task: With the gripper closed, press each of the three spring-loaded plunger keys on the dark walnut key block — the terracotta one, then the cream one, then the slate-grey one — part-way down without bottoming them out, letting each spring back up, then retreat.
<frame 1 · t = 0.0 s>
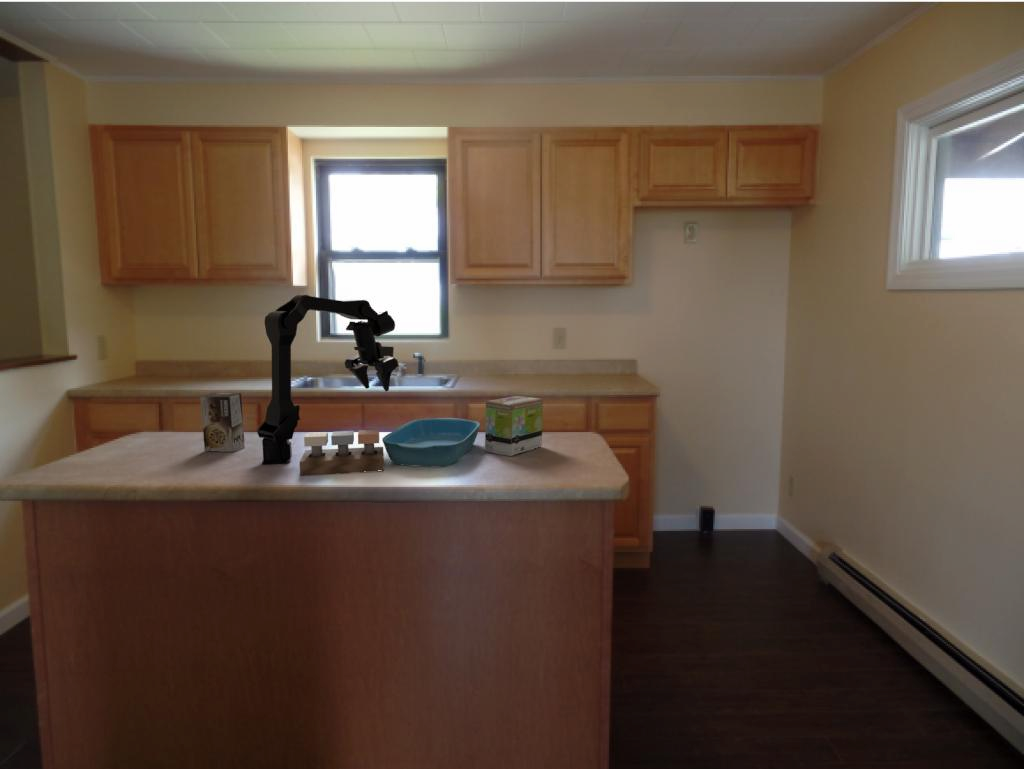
hand: (377, 389, 189), 15 cm above the countertop, tool pointing down, fingers open, 9 cm apart
coffee box: (224, 450, 177), on the countertop
casserole dish: (434, 454, 172), on the countertop
cream key: (316, 445, 156), point 6 cm above the countertop, slide at 0.0 cm
tea box: (514, 450, 177), on the countertop
terracotta key: (369, 443, 158), point 6 cm above the countertop, slide at 0.0 cm
slate key: (343, 444, 157), point 6 cm above the countertop, slide at 0.0 cm
key block: (343, 467, 158), on the countertop
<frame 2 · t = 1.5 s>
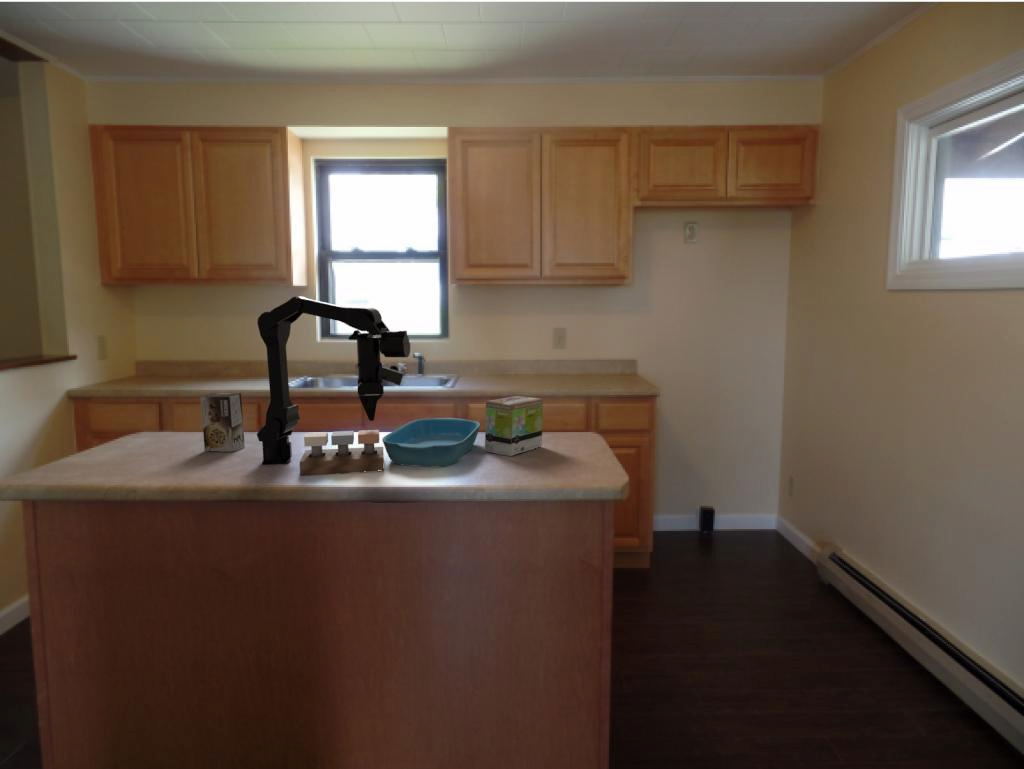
hand: (371, 417, 159), 13 cm above the countertop, tool pointing down, fingers open, 9 cm apart
nothing on the countertop moved.
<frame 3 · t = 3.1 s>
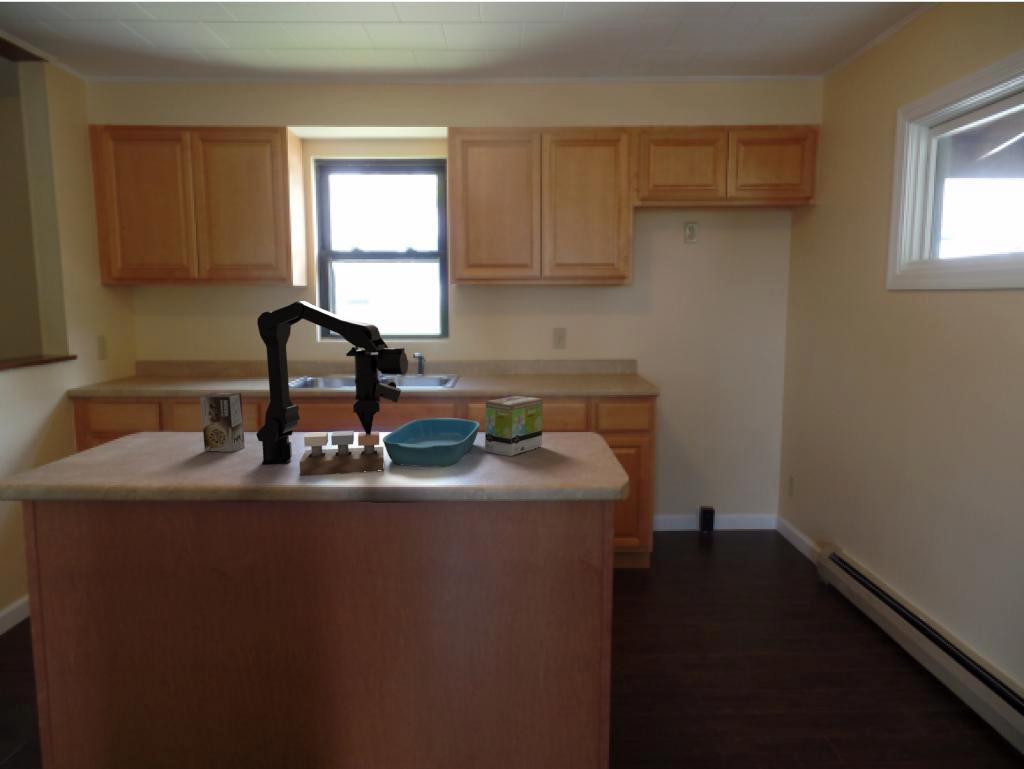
hand: (368, 434, 158), 8 cm above the countertop, tool pointing down, fingers closed, pressing on terracotta key
terracotta key: (369, 445, 158), point 5 cm above the countertop, slide at 0.5 cm, touching gripper
everything else where it was.
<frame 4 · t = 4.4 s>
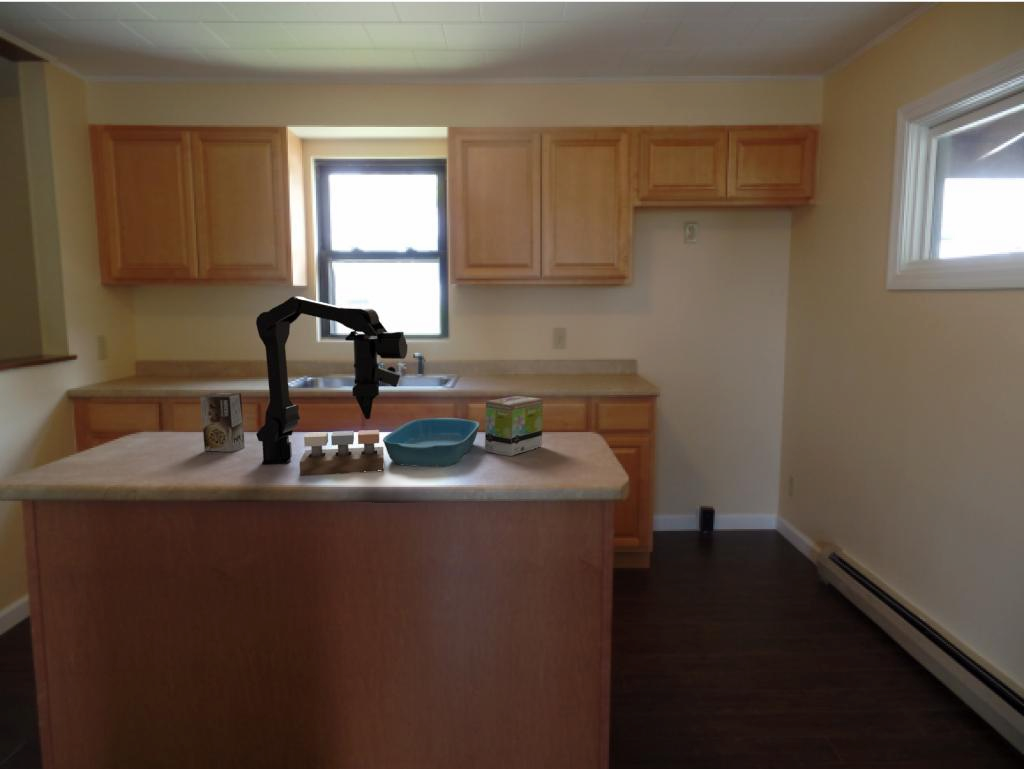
hand: (367, 418, 158), 12 cm above the countertop, tool pointing down, fingers closed
terracotta key: (369, 443, 158), point 6 cm above the countertop, slide at 0.0 cm
everything else where it was.
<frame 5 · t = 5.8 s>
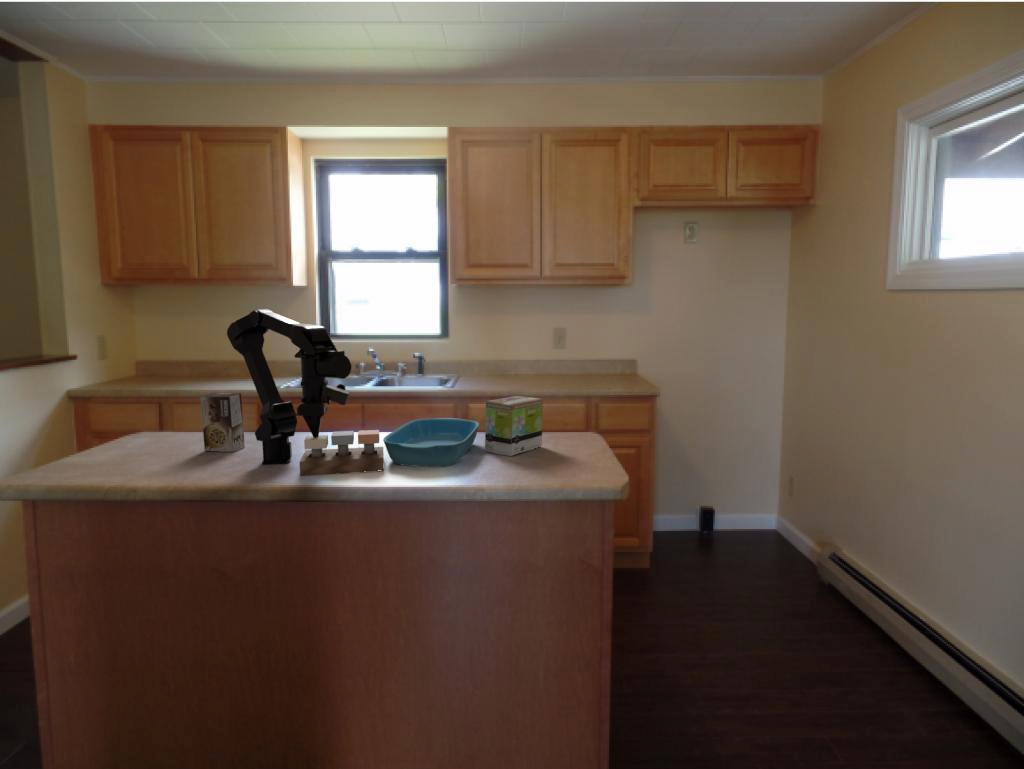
hand: (316, 437, 156), 8 cm above the countertop, tool pointing down, fingers closed, pressing on cream key
cream key: (316, 448, 156), point 5 cm above the countertop, slide at 0.8 cm, touching gripper
everything else where it was.
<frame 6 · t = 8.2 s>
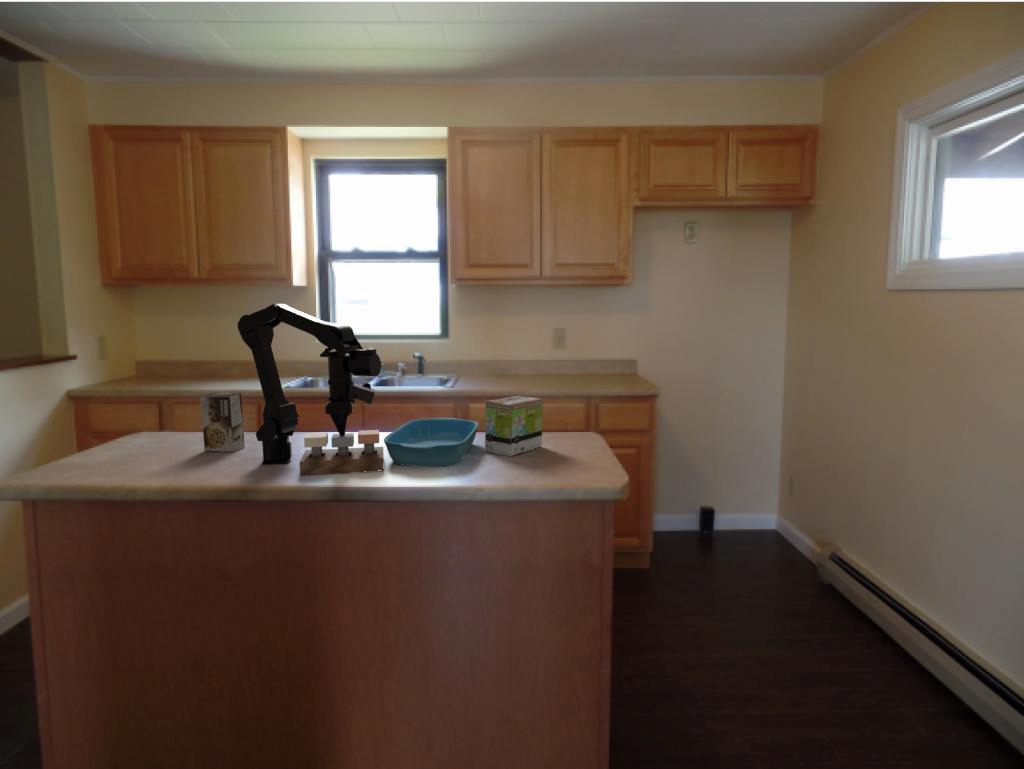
hand: (342, 435, 157), 8 cm above the countertop, tool pointing down, fingers closed, pressing on slate key
cream key: (316, 446, 156), point 6 cm above the countertop, slide at 0.3 cm
slate key: (343, 446, 157), point 5 cm above the countertop, slide at 0.6 cm, touching gripper
everything else where it was.
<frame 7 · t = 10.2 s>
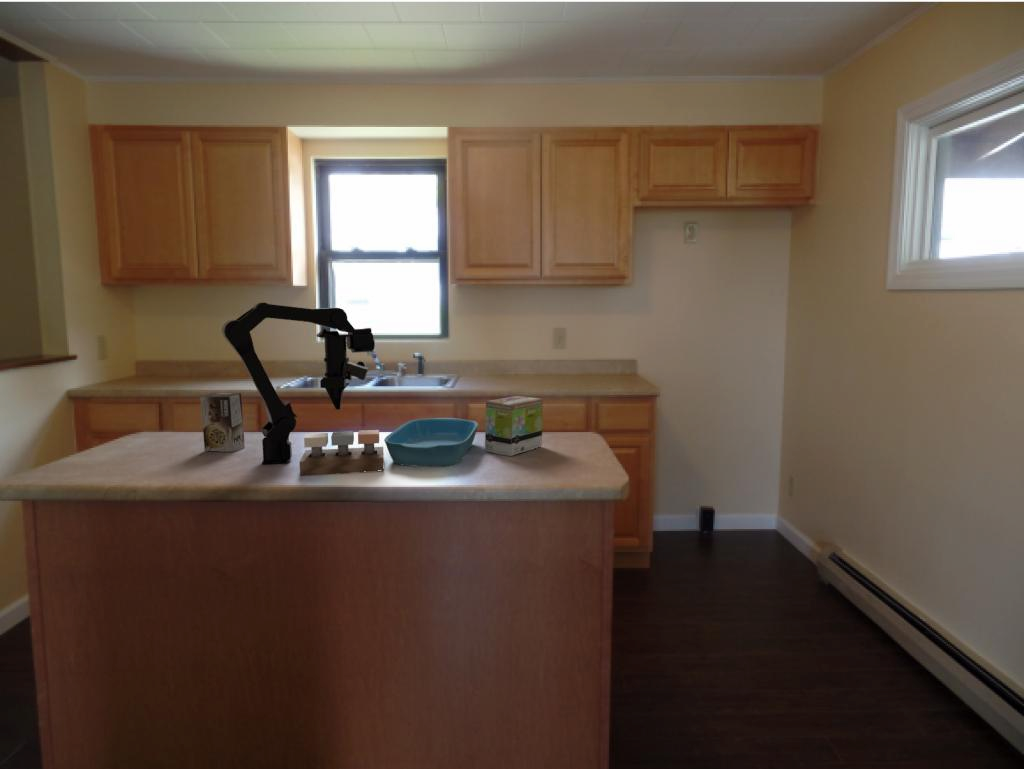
hand: (338, 409, 171), 13 cm above the countertop, tool pointing down, fingers closed
slate key: (343, 444, 157), point 6 cm above the countertop, slide at 0.1 cm
everything else where it was.
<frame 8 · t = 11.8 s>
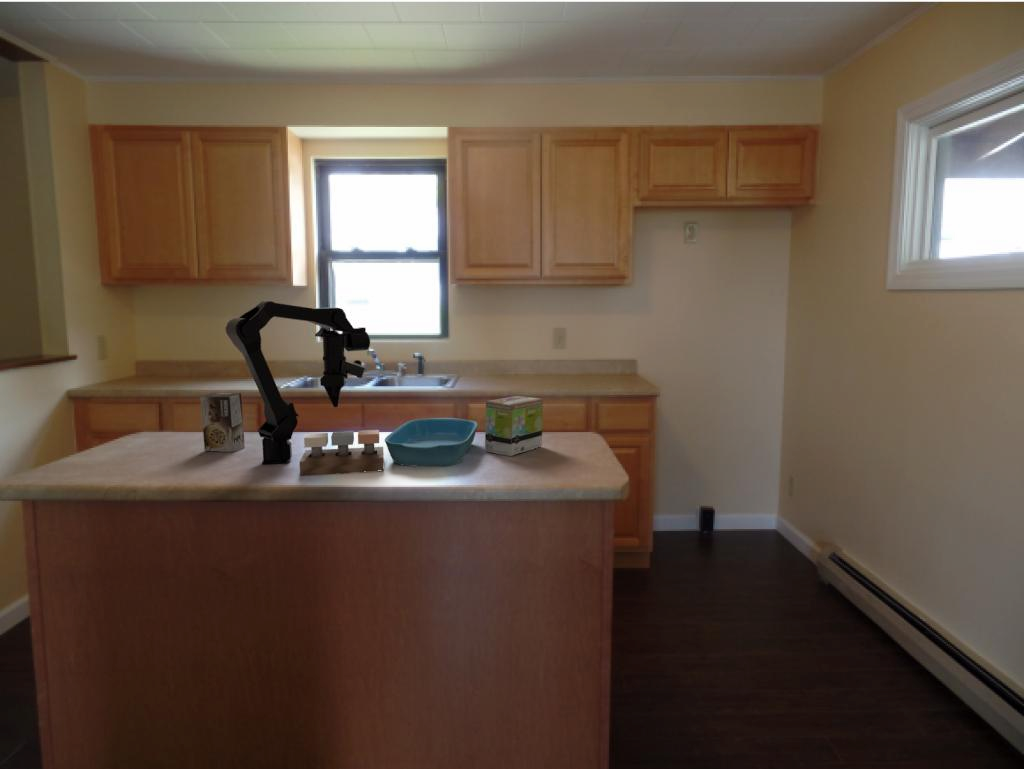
hand: (335, 406, 175), 12 cm above the countertop, tool pointing down, fingers closed
nothing on the countertop moved.
at the end: terracotta key slide at 0.0 cm; cream key slide at 0.3 cm; slate key slide at 0.1 cm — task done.
